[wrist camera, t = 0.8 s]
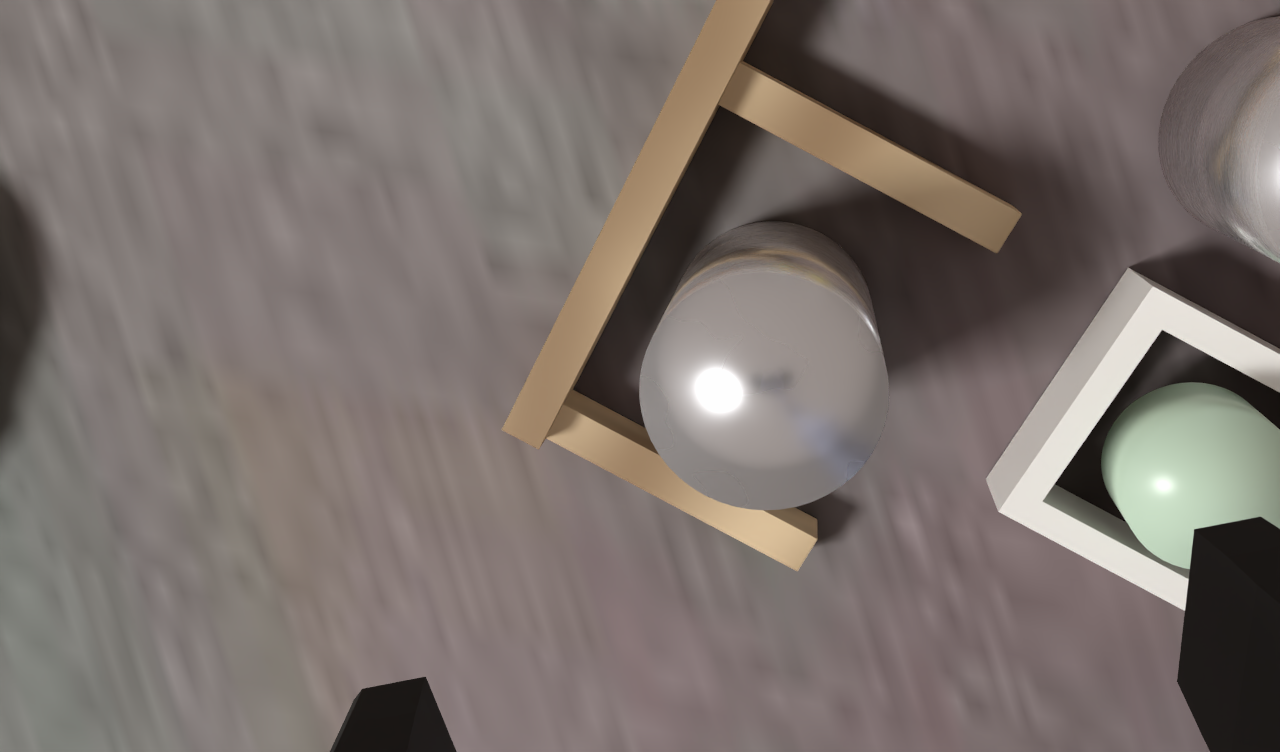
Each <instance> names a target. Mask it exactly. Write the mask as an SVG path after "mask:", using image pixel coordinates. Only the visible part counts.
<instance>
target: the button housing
mask: <svg viewBox="0 0 1280 752" xmlns="http://www.w3.org/2000/svg"><path fill="white" fill-rule="evenodd" d="M1162 330H1164V331H1166V332H1167V333H1169V334H1171V335H1173V336H1175V337H1177V338H1179V339H1180V340H1182V341H1184V342H1186V343H1188V344H1190V345H1192V346H1194V347H1195V348H1197V349H1199V350H1201V351H1203V352H1205V353H1207V354H1208V355H1210V356H1212V357H1214V358H1216V359H1218V360H1220V361H1222V362H1223V363H1225V364H1227V365H1229V366H1231V367H1233V368H1235V369H1237V370H1238V371H1240V372H1242V373H1244V374H1246V375H1248V376H1250V377H1251V378H1253V379H1255V380H1257V381H1259V382H1261V383H1263V384H1265V385H1266V386H1268V387H1270V388H1272V389H1274V390H1276V391H1278V392H1279V393H1280V349H1279V348H1277V347H1276V346H1274V345H1272V344H1270V343H1268V342H1266V341H1264V340H1262V339H1261V338H1259V337H1257V336H1255V335H1253V334H1251V333H1249V332H1248V331H1246V330H1244V329H1242V328H1240V327H1238V326H1236V325H1234V324H1233V323H1231V322H1229V321H1227V320H1225V319H1223V318H1221V317H1220V316H1218V315H1216V314H1214V313H1212V312H1210V311H1208V310H1206V309H1205V308H1203V307H1201V306H1199V305H1197V304H1195V303H1193V302H1192V301H1190V300H1188V299H1186V298H1184V297H1182V296H1180V295H1179V294H1177V293H1175V292H1173V291H1171V290H1169V289H1167V288H1165V287H1164V286H1162V285H1160V284H1158V283H1156V282H1154V281H1152V280H1151V279H1149V278H1147V277H1145V276H1143V275H1141V274H1139V273H1137V272H1136V271H1134V270H1132V269H1130V268H1128V269H1127V270H1126V272H1125V273H1124V275H1123V276H1122V278H1121V279H1120V281H1119V282H1118V284H1117V285H1116V286H1115V288H1114V289H1113V291H1112V292H1111V294H1110V295H1109V297H1108V298H1107V300H1106V301H1105V303H1104V304H1103V306H1102V307H1101V309H1100V310H1099V312H1098V313H1097V315H1096V316H1095V318H1094V319H1093V321H1092V322H1091V324H1090V325H1089V327H1088V328H1087V330H1086V331H1085V333H1084V334H1083V335H1082V337H1081V338H1080V340H1079V341H1078V343H1077V344H1076V346H1075V347H1074V349H1073V350H1072V352H1071V353H1070V355H1069V356H1068V358H1067V359H1066V361H1065V362H1064V364H1063V365H1062V367H1061V368H1060V370H1059V371H1058V373H1057V374H1056V376H1055V377H1054V379H1053V380H1052V382H1051V383H1050V384H1049V386H1048V387H1047V389H1046V390H1045V392H1044V393H1043V395H1042V396H1041V398H1040V399H1039V401H1038V402H1037V404H1036V405H1035V407H1034V408H1033V410H1032V411H1031V413H1030V414H1029V416H1028V417H1027V419H1026V420H1025V422H1024V423H1023V425H1022V426H1021V428H1020V429H1019V431H1018V432H1017V433H1016V435H1015V436H1014V438H1013V439H1012V441H1011V442H1010V444H1009V445H1008V447H1007V448H1006V450H1005V451H1004V453H1003V454H1002V456H1001V457H1000V459H999V460H998V462H997V463H996V465H995V466H994V468H993V469H992V471H991V472H990V474H989V475H988V477H987V478H986V481H987V484H988V486H989V489H990V491H991V494H992V496H993V499H994V502H995V504H996V507H997V509H998V512H1000V513H1002V514H1004V515H1006V516H1008V517H1009V518H1011V519H1013V520H1015V521H1017V522H1019V523H1021V524H1023V525H1025V526H1026V527H1028V528H1030V529H1032V530H1034V531H1036V532H1038V533H1040V534H1041V535H1043V536H1045V537H1047V538H1049V539H1051V540H1053V541H1055V542H1056V543H1058V544H1060V545H1062V546H1064V547H1066V548H1068V549H1070V550H1072V551H1073V552H1075V553H1077V554H1079V555H1081V556H1083V557H1085V558H1087V559H1088V560H1090V561H1092V562H1094V563H1096V564H1098V565H1100V566H1102V567H1103V568H1105V569H1107V570H1109V571H1111V572H1113V573H1115V574H1117V575H1119V576H1120V577H1122V578H1124V579H1126V580H1128V581H1130V582H1132V583H1134V584H1135V585H1137V586H1139V587H1141V588H1143V589H1145V590H1147V591H1149V592H1151V593H1152V594H1154V595H1156V596H1158V597H1160V598H1162V599H1164V600H1166V601H1167V602H1169V603H1171V604H1173V605H1175V606H1177V607H1179V608H1181V609H1182V610H1184V611H1185V607H1186V598H1187V589H1188V580H1189V571H1190V569H1185V568H1182V567H1178V566H1175V565H1172V564H1170V563H1168V562H1166V561H1164V560H1162V559H1160V558H1159V557H1157V556H1155V555H1154V554H1153V553H1151V552H1150V551H1149V550H1148V549H1147V548H1145V547H1144V545H1143V544H1142V543H1141V542H1140V541H1139V540H1138V538H1137V537H1136V536H1135V534H1134V533H1133V531H1132V530H1131V528H1130V526H1129V525H1128V523H1126V522H1125V521H1123V520H1121V519H1119V518H1117V517H1115V516H1113V515H1111V514H1110V513H1108V512H1106V511H1104V510H1102V509H1100V508H1098V507H1096V506H1095V505H1093V504H1091V503H1089V502H1087V501H1085V500H1083V499H1081V498H1080V497H1078V496H1076V495H1074V494H1072V493H1070V492H1068V491H1066V490H1064V489H1063V488H1061V487H1059V486H1057V485H1055V482H1056V481H1057V480H1058V478H1059V477H1060V475H1061V474H1062V472H1063V471H1064V470H1065V468H1066V467H1067V465H1068V464H1069V462H1070V461H1071V460H1072V458H1073V457H1074V455H1075V454H1076V452H1077V451H1078V450H1079V448H1080V447H1081V445H1082V444H1083V442H1084V441H1085V440H1086V438H1087V437H1088V435H1089V434H1090V432H1091V431H1092V429H1093V428H1094V427H1095V425H1096V424H1097V422H1098V421H1099V419H1100V418H1101V417H1102V415H1103V414H1104V412H1105V411H1106V409H1107V408H1108V407H1109V405H1110V404H1111V402H1112V401H1113V399H1114V398H1115V397H1116V395H1117V394H1118V392H1119V391H1120V389H1121V388H1122V386H1123V385H1124V384H1125V382H1126V381H1127V379H1128V378H1129V376H1130V375H1131V374H1132V372H1133V371H1134V369H1135V368H1136V366H1137V365H1138V364H1139V362H1140V361H1141V359H1142V358H1143V356H1144V355H1145V354H1146V352H1147V351H1148V349H1149V348H1150V346H1151V345H1152V344H1153V342H1154V341H1155V339H1156V338H1157V336H1158V335H1159V333H1160V332H1161V331H1162Z"/></svg>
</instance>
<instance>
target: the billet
mask: <svg viewBox="0 0 1280 752" xmlns="http://www.w3.org/2000/svg"><path fill="white" fill-rule="evenodd" d="M1159 156H1160V163H1161V167H1162V170H1163V174H1164V177H1165V179H1166V181H1167V184H1168V186H1169V188H1170V190H1171V191H1172V193H1173V194H1174V196H1175V198H1176V199H1177V201H1178V202H1179V203H1180V204H1181V205H1182V206H1183V207H1184V209H1185V210H1186V211H1187V212H1189V213H1190V214H1191V215H1192V216H1193V217H1195V218H1196V219H1197V220H1199V221H1200V222H1202V223H1203V224H1205V225H1207V226H1208V227H1210V228H1212V229H1214V230H1216V231H1218V232H1220V233H1222V234H1224V235H1226V236H1228V237H1230V238H1232V239H1234V240H1235V241H1237V242H1239V243H1241V244H1243V245H1245V246H1247V247H1249V248H1251V249H1253V250H1255V251H1257V252H1259V253H1261V254H1263V255H1265V256H1267V257H1269V258H1271V259H1273V260H1275V261H1277V262H1279V263H1280V16H1275V17H1269V18H1264V19H1260V20H1256V21H1253V22H1250V23H1248V24H1245V25H1242V26H1240V27H1238V28H1236V29H1234V30H1232V31H1230V32H1228V33H1226V34H1224V35H1223V36H1221V37H1220V38H1218V39H1217V40H1215V41H1214V42H1212V43H1211V44H1209V45H1208V46H1207V47H1206V48H1205V49H1204V50H1202V51H1201V52H1200V53H1199V54H1198V55H1197V56H1196V57H1195V58H1194V59H1193V60H1192V61H1191V62H1190V63H1189V65H1188V66H1187V67H1186V68H1185V70H1184V71H1183V72H1182V74H1181V75H1180V76H1179V78H1178V79H1177V81H1176V83H1175V85H1174V86H1173V88H1172V90H1171V92H1170V94H1169V97H1168V99H1167V101H1166V104H1165V106H1164V110H1163V113H1162V117H1161V121H1160V128H1159Z"/></svg>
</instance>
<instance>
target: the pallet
mask: <svg viewBox="0 0 1280 752" xmlns="http://www.w3.org/2000/svg"><path fill="white" fill-rule="evenodd" d="M773 2H774V0H716V2H715V4H714V6H713V8H712V10H711V12H710V14H709V16H708V18H707V20H706V22H705V24H704V26H703V28H702V30H701V32H700V34H699V36H698V38H697V40H696V42H695V44H694V46H693V48H692V50H691V52H690V54H689V56H688V58H687V60H686V62H685V64H684V66H683V68H682V70H681V72H680V74H679V76H678V78H677V80H676V82H675V84H674V86H673V88H672V90H671V92H670V94H669V96H668V98H667V100H666V102H665V104H664V106H663V108H662V110H661V112H660V114H659V116H658V118H657V120H656V122H655V124H654V126H653V128H652V130H651V132H650V134H649V136H648V138H647V140H646V142H645V144H644V146H643V148H642V150H641V152H640V154H639V156H638V158H637V160H636V162H635V164H634V166H633V168H632V170H631V172H630V174H629V176H628V178H627V180H626V182H625V184H624V186H623V188H622V190H621V192H620V194H619V196H618V198H617V200H616V202H615V204H614V206H613V208H612V210H611V212H610V214H609V216H608V218H607V220H606V222H605V224H604V226H603V228H602V230H601V232H600V234H599V236H598V238H597V240H596V242H595V244H594V246H593V248H592V250H591V252H590V254H589V256H588V258H587V260H586V262H585V264H584V266H583V268H582V270H581V272H580V274H579V276H578V278H577V280H576V282H575V284H574V286H573V288H572V290H571V292H570V294H569V296H568V298H567V300H566V302H565V304H564V306H563V308H562V310H561V312H560V314H559V316H558V318H557V320H556V322H555V324H554V326H553V328H552V330H551V332H550V334H549V336H548V338H547V340H546V342H545V344H544V346H543V348H542V350H541V352H540V354H539V356H538V358H537V360H536V362H535V364H534V366H533V368H532V370H531V372H530V374H529V376H528V378H527V380H526V382H525V384H524V386H523V388H522V390H521V392H520V394H519V396H518V398H517V400H516V402H515V404H514V406H513V408H512V410H511V412H510V414H509V416H508V418H507V420H506V422H505V424H504V426H503V428H502V430H503V431H505V432H507V433H509V434H510V435H512V436H514V437H516V438H518V439H520V440H522V441H524V442H526V443H527V444H529V445H531V446H533V447H535V448H537V449H539V448H540V447H541V445H542V444H543V442H544V440H545V439H546V438H547V439H548V440H550V441H552V442H554V443H556V444H558V445H560V446H562V447H564V448H565V449H567V450H569V451H571V452H573V453H575V454H577V455H579V456H581V457H582V458H584V459H586V460H588V461H590V462H592V463H594V464H596V465H598V466H599V467H601V468H603V469H605V470H607V471H609V472H611V473H613V474H615V475H616V476H618V477H620V478H622V479H624V480H626V481H628V482H630V483H632V484H633V485H635V486H637V487H639V488H641V489H643V490H645V491H647V492H649V493H650V494H652V495H654V496H656V497H658V498H660V499H662V500H664V501H666V502H667V503H669V504H671V505H673V506H675V507H677V508H679V509H681V510H683V511H684V512H686V513H688V514H690V515H692V516H694V517H696V518H698V519H700V520H701V521H703V522H705V523H707V524H709V525H711V526H713V527H715V528H717V529H718V530H720V531H722V532H724V533H726V534H728V535H730V536H732V537H734V538H735V539H737V540H739V541H741V542H743V543H745V544H747V545H749V546H750V547H752V548H754V549H756V550H758V551H760V552H762V553H764V554H766V555H767V556H769V557H771V558H773V559H775V560H777V561H779V562H781V563H783V564H784V565H786V566H788V567H790V568H792V569H794V570H796V571H798V570H799V568H800V566H801V565H802V563H803V562H804V560H805V558H806V557H807V555H808V554H809V552H810V550H811V549H812V547H813V546H814V544H815V542H816V541H817V539H818V536H817V519H816V518H814V517H812V516H810V515H808V514H806V513H804V512H803V511H801V510H799V509H797V508H795V507H792V508H787V509H781V510H752V509H745V508H740V507H734V506H731V505H728V504H725V503H721V502H718V501H716V500H714V499H712V498H710V497H707V496H705V495H703V494H702V493H700V492H698V491H697V490H695V489H694V488H692V487H690V486H689V485H688V484H687V483H685V482H684V481H683V480H682V479H680V478H679V477H678V476H677V475H676V474H675V473H674V472H673V471H672V470H671V469H670V468H669V467H668V466H667V464H666V463H665V462H664V460H663V459H662V458H661V456H660V455H659V454H658V452H657V450H656V449H655V447H654V445H653V443H652V442H651V440H650V437H649V435H648V432H647V430H646V428H644V427H642V426H640V425H639V424H637V423H635V422H633V421H631V420H629V419H627V418H625V417H623V416H622V415H620V414H618V413H616V412H614V411H612V410H610V409H608V408H607V407H605V406H603V405H601V404H599V403H597V402H595V401H593V400H591V399H590V398H588V397H586V396H584V395H582V394H580V393H578V392H576V391H574V390H573V388H574V387H575V385H576V383H577V381H578V379H579V377H580V375H581V373H582V371H583V369H584V367H585V365H586V363H587V361H588V359H589V358H590V356H591V354H592V352H593V350H594V348H595V346H596V344H597V342H598V340H599V338H600V336H601V334H602V332H603V330H604V329H605V327H606V325H607V323H608V321H609V319H610V317H611V315H612V313H613V311H614V309H615V307H616V305H617V303H618V301H619V300H620V298H621V296H622V294H623V292H624V290H625V288H626V286H627V284H628V282H629V280H630V278H631V276H632V274H633V272H634V271H635V269H636V267H637V265H638V263H639V261H640V259H641V257H642V255H643V253H644V251H645V249H646V247H647V245H648V243H649V241H650V240H651V238H652V236H653V234H654V232H655V230H656V228H657V226H658V224H659V222H660V220H661V218H662V216H663V214H664V212H665V211H666V209H667V207H668V205H669V203H670V201H671V199H672V197H673V195H674V193H675V191H676V189H677V187H678V185H679V183H680V182H681V180H682V178H683V176H684V174H685V172H686V170H687V168H688V166H689V164H690V162H691V160H692V158H693V156H694V154H695V153H696V151H697V149H698V147H699V145H700V143H701V141H702V139H703V137H704V135H705V133H706V131H707V129H708V127H709V125H710V124H711V122H712V120H713V118H714V116H715V114H716V112H717V110H718V108H719V106H722V107H724V108H726V109H728V110H730V111H731V112H733V113H735V114H737V115H739V116H741V117H743V118H745V119H746V120H748V121H750V122H752V123H754V124H756V125H758V126H759V127H761V128H763V129H765V130H767V131H769V132H771V133H773V134H774V135H776V136H778V137H780V138H782V139H784V140H786V141H787V142H789V143H791V144H793V145H795V146H797V147H799V148H801V149H802V150H804V151H806V152H808V153H810V154H812V155H814V156H816V157H817V158H819V159H821V160H823V161H825V162H827V163H829V164H830V165H832V166H834V167H836V168H838V169H840V170H842V171H844V172H845V173H847V174H849V175H851V176H853V177H855V178H857V179H858V180H860V181H862V182H864V183H866V184H868V185H870V186H872V187H873V188H875V189H877V190H879V191H881V192H883V193H885V194H887V195H888V196H890V197H892V198H894V199H896V200H898V201H900V202H901V203H903V204H905V205H907V206H909V207H911V208H913V209H915V210H916V211H918V212H920V213H922V214H924V215H926V216H928V217H930V218H931V219H933V220H935V221H937V222H939V223H941V224H943V225H944V226H946V227H948V228H950V229H952V230H954V231H956V232H958V233H959V234H961V235H963V236H965V237H967V238H969V239H971V240H972V241H974V242H976V243H978V244H980V245H982V246H984V247H986V248H987V249H989V250H991V251H993V252H995V253H998V252H999V250H1000V248H1001V247H1002V245H1003V244H1004V242H1005V240H1006V239H1007V237H1008V236H1009V234H1010V232H1011V231H1012V229H1013V228H1014V226H1015V225H1016V223H1017V221H1018V220H1019V218H1020V217H1021V215H1022V213H1020V212H1019V211H1018V210H1017V209H1016V208H1015V207H1014V206H1012V205H1011V204H1009V203H1007V202H1005V201H1003V200H1001V199H999V198H997V197H996V196H994V195H992V194H990V193H988V192H986V191H984V190H983V189H981V188H979V187H977V186H975V185H973V184H971V183H969V182H968V181H966V180H964V179H962V178H960V177H958V176H956V175H955V174H953V173H951V172H949V171H947V170H945V169H943V168H942V167H940V166H938V165H936V164H934V163H932V162H930V161H928V160H927V159H925V158H923V157H921V156H919V155H917V154H915V153H914V152H912V151H910V150H908V149H906V148H904V147H902V146H900V145H899V144H897V143H895V142H893V141H891V140H889V139H887V138H886V137H884V136H882V135H880V134H878V133H876V132H874V131H872V130H871V129H869V128H867V127H865V126H863V125H861V124H859V123H858V122H856V121H854V120H852V119H850V118H848V117H846V116H844V115H843V114H841V113H839V112H837V111H835V110H833V109H831V108H830V107H828V106H826V105H824V104H822V103H820V102H818V101H816V100H815V99H813V98H811V97H809V96H807V95H805V94H803V93H802V92H800V91H798V90H796V89H794V88H792V87H790V86H788V85H787V84H785V83H783V82H781V81H779V80H777V79H775V78H774V77H772V76H770V75H768V74H766V73H764V72H762V71H760V70H759V69H757V68H755V67H753V66H751V65H749V64H747V63H746V62H744V61H743V60H744V58H745V56H746V54H747V52H748V50H749V48H750V46H751V44H752V42H753V40H754V38H755V36H756V35H757V33H758V31H759V29H760V27H761V25H762V23H763V21H764V19H765V17H766V15H767V13H768V11H769V9H770V7H771V6H772V4H773Z"/></svg>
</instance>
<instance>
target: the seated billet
mask: <svg viewBox="0 0 1280 752" xmlns="http://www.w3.org/2000/svg"><path fill="white" fill-rule="evenodd" d="M639 398H640V406H641V413H642V417H643V420H644V424H645V427H646V430H647V432H648V435H649V437H650V440H651V442H652V443H653V445H654V447H655V449H656V450H657V452H658V454H659V455H660V456H661V458H662V459H663V460H664V462H665V463H666V464H667V466H668V467H669V468H670V469H671V470H672V471H673V472H674V473H675V474H676V475H677V476H678V477H679V478H680V479H682V480H683V481H684V482H685V483H687V484H688V485H689V486H690V487H692V488H694V489H695V490H697V491H698V492H700V493H702V494H703V495H705V496H707V497H710V498H712V499H714V500H716V501H718V502H721V503H725V504H728V505H731V506H734V507H740V508H745V509H752V510H781V509H787V508H792V507H797V506H801V505H804V504H807V503H810V502H813V501H815V500H818V499H820V498H822V497H824V496H826V495H828V494H830V493H831V492H833V491H835V490H836V489H838V488H839V487H841V486H842V485H843V484H844V483H846V482H847V481H848V480H849V479H851V478H852V477H853V476H854V475H855V474H856V473H857V472H858V471H859V470H860V469H861V467H862V466H863V465H864V464H865V462H866V461H867V460H868V458H869V457H870V456H871V454H872V453H873V451H874V449H875V447H876V445H877V443H878V441H879V439H880V437H881V434H882V431H883V429H884V426H885V422H886V418H887V413H888V406H889V379H888V374H887V369H886V364H885V359H884V355H883V350H882V346H881V342H880V337H879V333H878V328H877V324H876V319H875V315H874V310H873V306H872V301H871V297H870V292H869V290H868V287H867V284H866V281H865V279H864V277H863V275H862V273H861V271H860V269H859V268H858V266H857V265H856V264H855V262H854V261H853V259H852V258H851V257H850V256H849V255H848V254H847V253H846V252H845V250H844V249H843V248H841V247H840V246H839V245H838V244H837V243H835V242H834V241H833V240H831V239H830V238H828V237H827V236H825V235H823V234H822V233H820V232H818V231H815V230H813V229H811V228H808V227H805V226H802V225H799V224H794V223H788V222H779V221H767V222H756V223H752V224H748V225H743V226H741V227H738V228H735V229H733V230H730V231H728V232H726V233H725V234H723V235H721V236H719V237H718V238H716V239H715V240H713V241H712V242H711V243H709V244H708V245H707V246H706V247H705V248H704V249H703V250H702V251H700V252H699V254H698V255H697V256H696V257H695V258H694V260H693V261H692V262H691V263H690V265H689V267H688V268H687V270H686V271H685V273H684V275H683V277H682V279H681V281H680V283H679V285H678V287H677V289H676V291H675V293H674V295H673V297H672V299H671V301H670V303H669V305H668V307H667V309H666V311H665V313H664V315H663V317H662V319H661V321H660V323H659V325H658V327H657V329H656V331H655V333H654V335H653V337H652V339H651V341H650V343H649V346H648V348H647V350H646V353H645V356H644V360H643V363H642V367H641V374H640V381H639Z"/></svg>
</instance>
